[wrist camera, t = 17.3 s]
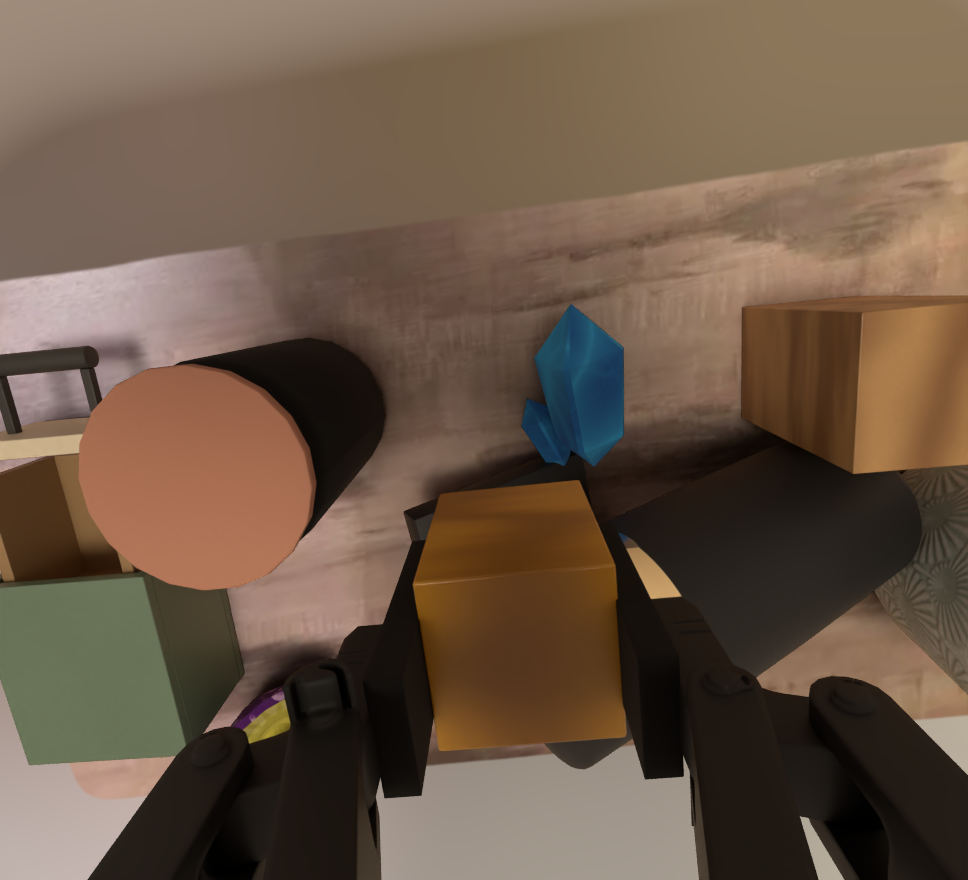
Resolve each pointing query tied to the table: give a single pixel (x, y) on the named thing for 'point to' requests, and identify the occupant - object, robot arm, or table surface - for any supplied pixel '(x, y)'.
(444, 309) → the table surface
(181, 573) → the coffee jar
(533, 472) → the light fixture
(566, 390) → the crystal
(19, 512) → the drawer
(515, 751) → the table surface
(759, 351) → the stand
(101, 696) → the cabinet
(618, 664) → the block
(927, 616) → the planter
